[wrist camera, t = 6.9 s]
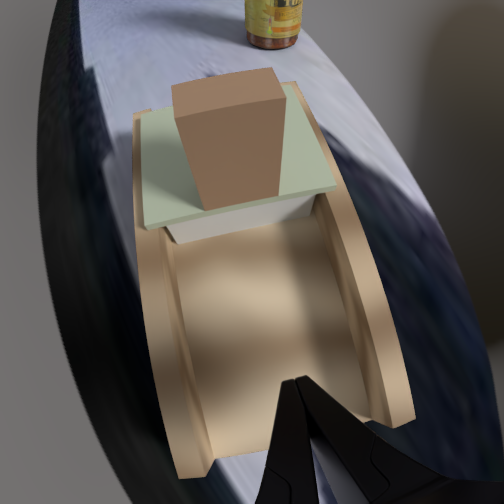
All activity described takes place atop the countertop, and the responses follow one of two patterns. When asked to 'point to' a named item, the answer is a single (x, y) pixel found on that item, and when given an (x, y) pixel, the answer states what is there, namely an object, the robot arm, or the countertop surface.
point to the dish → (242, 219)
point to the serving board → (264, 323)
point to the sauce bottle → (273, 22)
